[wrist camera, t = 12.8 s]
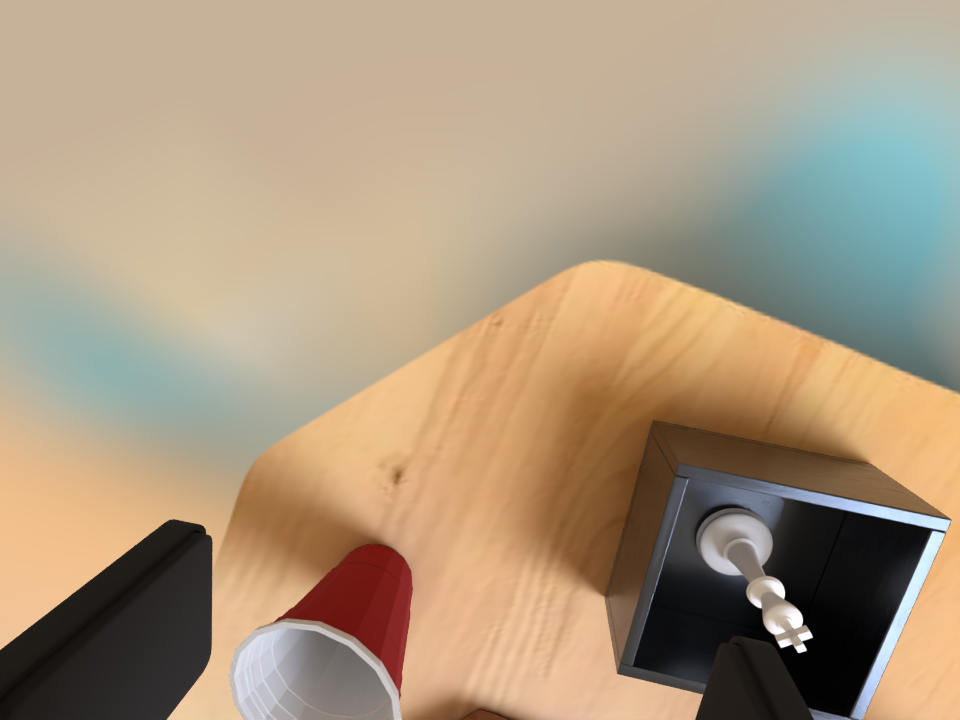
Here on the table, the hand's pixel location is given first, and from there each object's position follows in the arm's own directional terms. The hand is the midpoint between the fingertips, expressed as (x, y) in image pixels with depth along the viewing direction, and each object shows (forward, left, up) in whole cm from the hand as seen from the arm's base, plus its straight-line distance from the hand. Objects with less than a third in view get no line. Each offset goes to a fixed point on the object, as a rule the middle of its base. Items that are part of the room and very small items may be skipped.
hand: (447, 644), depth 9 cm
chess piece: (+11, +17, -27) cm, 34 cm away
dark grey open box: (+11, +17, -27) cm, 34 cm away
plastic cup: (+21, -8, -27) cm, 35 cm away
